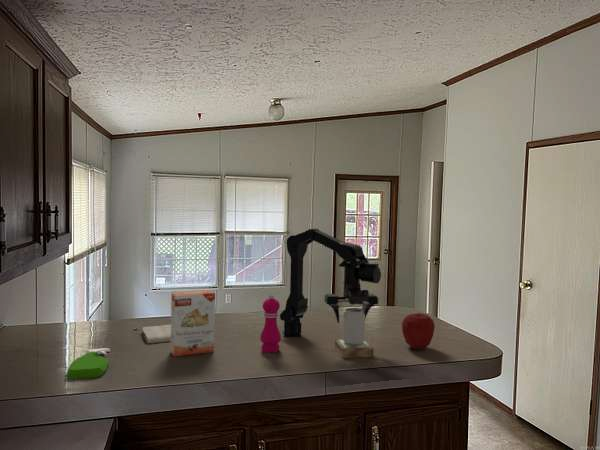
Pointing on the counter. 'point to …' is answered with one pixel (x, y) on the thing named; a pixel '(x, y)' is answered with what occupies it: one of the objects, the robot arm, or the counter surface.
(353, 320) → the can
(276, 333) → the pepper mill
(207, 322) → the cracker box
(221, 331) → the counter surface
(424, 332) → the apple
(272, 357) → the counter surface
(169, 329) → the washcloth
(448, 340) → the counter surface
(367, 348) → the plinth
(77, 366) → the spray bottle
